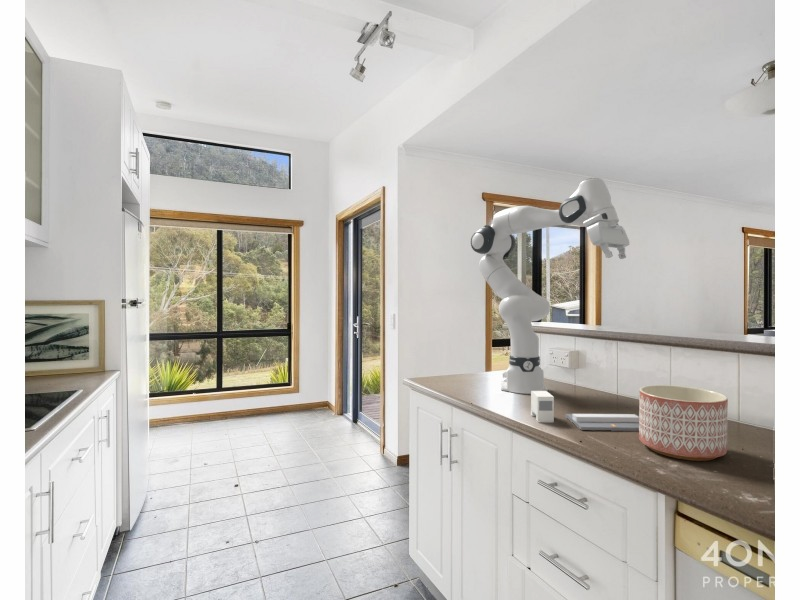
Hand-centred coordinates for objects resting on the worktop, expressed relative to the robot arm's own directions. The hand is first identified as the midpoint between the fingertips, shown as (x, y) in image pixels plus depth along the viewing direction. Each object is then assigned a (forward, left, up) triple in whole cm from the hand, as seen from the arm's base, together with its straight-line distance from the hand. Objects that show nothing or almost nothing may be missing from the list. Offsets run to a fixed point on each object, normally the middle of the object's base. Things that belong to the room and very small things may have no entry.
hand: (616, 257), depth 153 cm
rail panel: (+16, -10, -52) cm, 55 cm away
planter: (+38, 0, -52) cm, 65 cm away
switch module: (+11, -28, -52) cm, 60 cm away
